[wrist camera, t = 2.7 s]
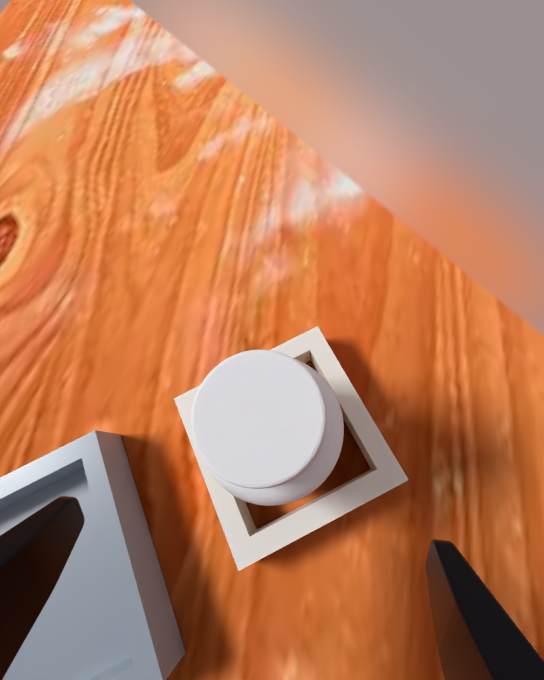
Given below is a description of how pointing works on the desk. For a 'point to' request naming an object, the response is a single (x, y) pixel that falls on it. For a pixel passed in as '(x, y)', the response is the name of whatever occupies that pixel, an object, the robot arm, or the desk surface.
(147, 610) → the tray
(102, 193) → the desk surface
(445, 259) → the desk surface
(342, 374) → the holder collar
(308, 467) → the supplement bottle
